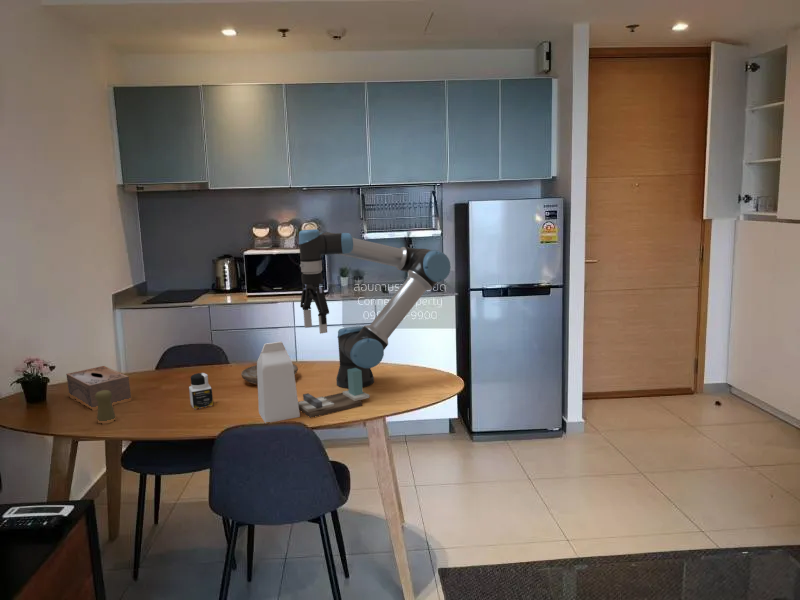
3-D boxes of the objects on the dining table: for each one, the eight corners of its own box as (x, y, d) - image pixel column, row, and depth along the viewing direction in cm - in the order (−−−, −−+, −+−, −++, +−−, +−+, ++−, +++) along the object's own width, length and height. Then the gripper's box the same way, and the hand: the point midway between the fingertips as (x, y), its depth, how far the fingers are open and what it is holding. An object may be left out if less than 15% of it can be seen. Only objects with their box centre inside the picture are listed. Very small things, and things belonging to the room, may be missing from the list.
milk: (265, 423, 207) (258, 348, 203) (258, 412, 217) (252, 341, 213) (299, 416, 212) (294, 343, 207) (292, 407, 222) (286, 337, 218)
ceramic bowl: (310, 376, 260) (309, 364, 259) (270, 392, 241) (269, 380, 240) (270, 370, 273) (269, 359, 272) (230, 384, 253) (229, 373, 252)
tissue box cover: (69, 397, 246) (66, 373, 244) (106, 388, 256) (103, 365, 254) (92, 411, 228) (89, 385, 226) (131, 401, 238) (128, 376, 236)
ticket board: (295, 407, 221) (294, 395, 221) (344, 395, 232) (343, 384, 231) (310, 418, 210) (309, 405, 209) (362, 405, 220) (361, 393, 219)
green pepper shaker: (101, 418, 219) (97, 389, 217) (118, 417, 219) (114, 387, 218) (94, 424, 213) (90, 394, 211) (112, 423, 213) (108, 393, 212)
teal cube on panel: (342, 394, 229) (341, 368, 227) (356, 390, 232) (355, 365, 230) (355, 401, 221) (353, 374, 219) (369, 397, 224) (368, 371, 222)
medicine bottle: (193, 409, 224) (190, 378, 222) (190, 404, 230) (187, 373, 228) (213, 406, 227) (210, 374, 225) (210, 400, 233) (206, 370, 231)
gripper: (289, 270, 229) (293, 326, 233) (316, 276, 208) (320, 337, 212) (307, 268, 233) (311, 323, 237) (336, 274, 212) (340, 333, 216)
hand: (315, 330), depth 224 cm, fingers open, 13 cm apart
